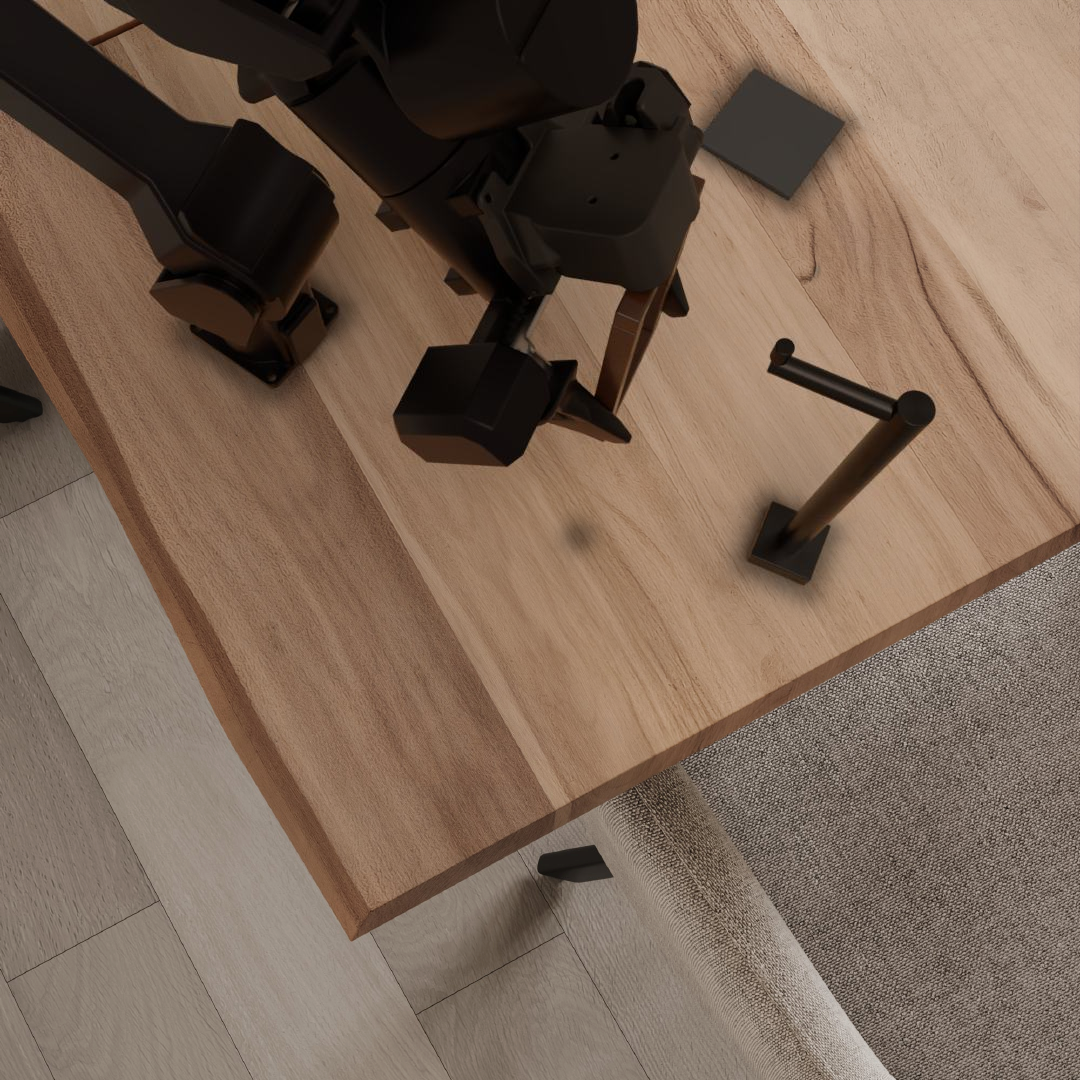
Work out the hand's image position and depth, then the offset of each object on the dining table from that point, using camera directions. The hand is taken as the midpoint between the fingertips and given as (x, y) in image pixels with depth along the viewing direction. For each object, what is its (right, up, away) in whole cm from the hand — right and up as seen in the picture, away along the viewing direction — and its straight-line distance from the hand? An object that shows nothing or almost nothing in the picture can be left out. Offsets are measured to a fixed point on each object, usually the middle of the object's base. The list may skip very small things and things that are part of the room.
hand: (652, 376), depth 51 cm
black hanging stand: (+7, -7, +12) cm, 16 cm away
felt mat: (+10, +19, +20) cm, 29 cm away
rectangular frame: (-1, 0, +2) cm, 2 cm away
